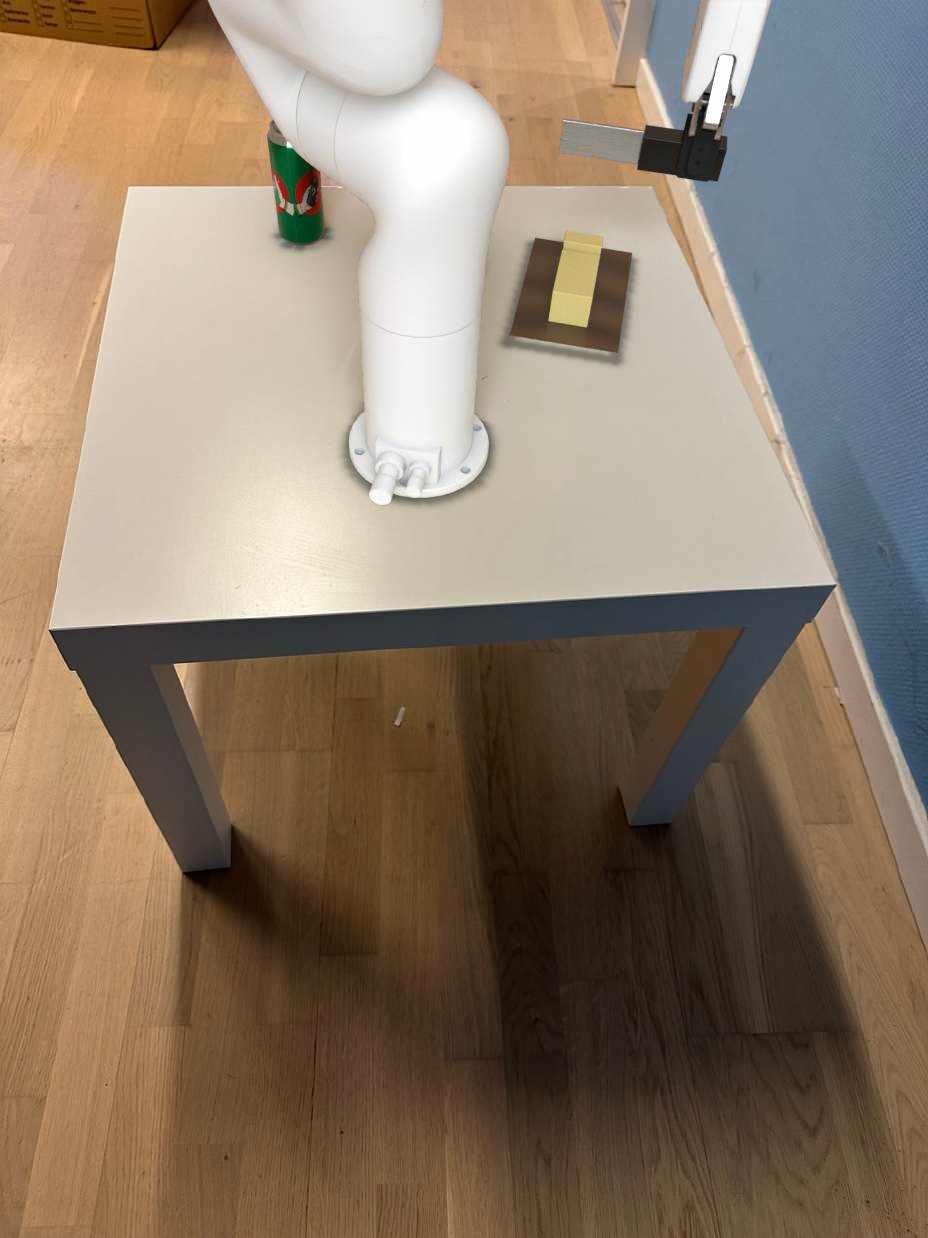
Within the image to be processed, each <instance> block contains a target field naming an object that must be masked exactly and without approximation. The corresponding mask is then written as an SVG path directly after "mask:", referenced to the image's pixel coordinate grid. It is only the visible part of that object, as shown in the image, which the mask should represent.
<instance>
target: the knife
mask: <svg viewBox="0 0 928 1238" xmlns="http://www.w3.org/2000/svg"><path fill="white" fill-rule="evenodd" d="M685 132H686V130H684V129H679V128H670V127H665V126H657V125H651V124H650V125H649V124H645V126H644V129H640V128H633V127H628V126H627V127H626V126H620V125H612V124H605V123H599V122H592V121H585V120H578V119H571V118H565V117H563V119H562V123H561V132H560V138H559V146H558V154H563V155H572V156H578V157H585V158H591V159H598V160H604V161H611V162H619V163H625V164H631V165H637V167H636V170H637V171H642V172H650V173H656V174H662V175H669V176H676V169H677V165H678V161H679V157H680V153H681V149H682V145H683V140H684V136H685ZM727 151H728V136H727V135H722V140H721V144H720V147H719V151H718V154H717V158H716V162H715V165H714V169H713V172H712V176H711V179H710V180H709V181H710V182H719V179H720V176H721V172H722V169H723V166H724V165H723V164H724V161H725V159H726V154H727Z"/></svg>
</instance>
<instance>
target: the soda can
mask: <svg viewBox="0 0 928 1238" xmlns="http://www.w3.org/2000/svg"><path fill="white" fill-rule="evenodd" d="M268 126H269V130H268V132H267V134H266V139H267V148H268V155H269V163H270V169H271V179H272V187H273V194H274V203H275V211H276V217H277V226H278V233H279V235H280V236H281V238H283V239H284V241H286V242H288V243H289V244H292V245H295V246H309V245H312V244H315V243H317V242H318V241H320V240H321V239H322V237H323V236H324V235H325V233H326V227H325V226H326V224H325V213H324V202H323V191H322V190H323V189H322V177H321V172H320V171H318V170H317V169H316V168H315V167H313V166H312V165H311V164H309V163H308V162H307V161H306V160H304V159H303V158H302V157H301V156H300V155H299V154H298V153H297V152H296V151H295V150H294V149H293V148H292V147H291V145H290V144H289V143H288V141H287V140H286V139H285V137H284V136H283V134H282V133H281V131H280V130H279V128H278V127H277V125H276V124H275V122H274V120H273V119H272V120H271V121H270V122H269V125H268Z"/></svg>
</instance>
